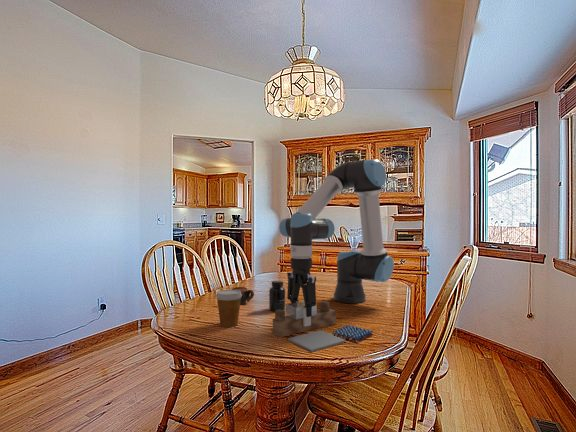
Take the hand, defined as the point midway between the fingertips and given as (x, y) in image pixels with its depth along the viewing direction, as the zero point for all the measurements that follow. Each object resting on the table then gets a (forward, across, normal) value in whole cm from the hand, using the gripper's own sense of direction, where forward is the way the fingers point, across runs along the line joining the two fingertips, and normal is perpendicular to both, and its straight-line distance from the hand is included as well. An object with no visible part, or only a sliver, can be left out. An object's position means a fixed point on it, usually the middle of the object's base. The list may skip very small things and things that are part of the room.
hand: (301, 323), depth 126 cm
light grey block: (-3, 0, 0) cm, 3 cm away
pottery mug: (+3, -47, +2) cm, 47 cm away
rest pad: (+2, +12, -3) cm, 13 cm away
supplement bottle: (+2, -27, +8) cm, 28 cm away
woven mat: (+3, +14, +11) cm, 18 cm away
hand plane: (+2, 0, +2) cm, 3 cm away
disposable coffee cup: (+2, -20, -18) cm, 27 cm away
